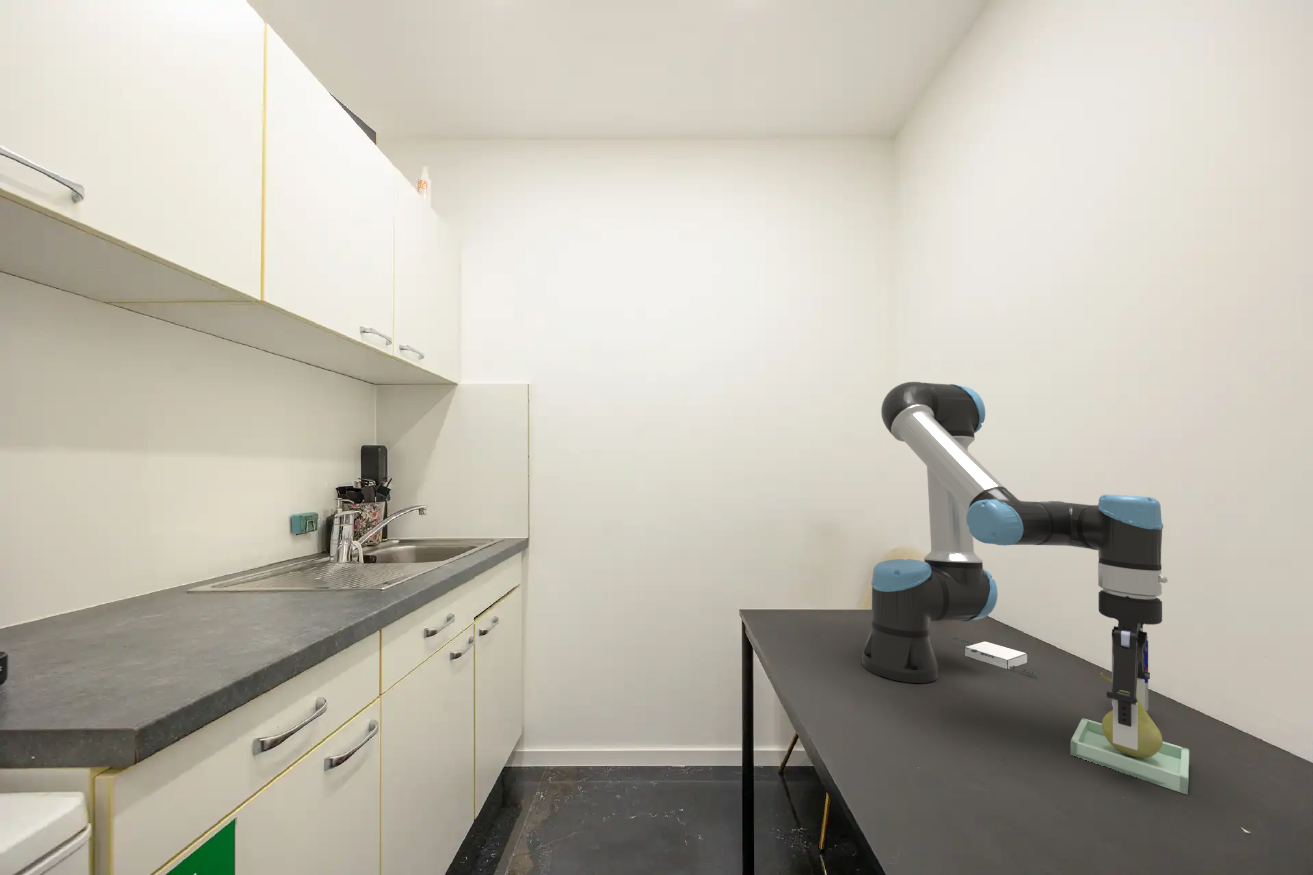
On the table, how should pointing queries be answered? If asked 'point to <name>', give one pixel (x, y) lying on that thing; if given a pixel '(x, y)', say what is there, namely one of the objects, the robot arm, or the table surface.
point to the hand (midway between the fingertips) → (1129, 731)
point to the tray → (1133, 758)
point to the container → (996, 655)
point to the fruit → (1147, 732)
